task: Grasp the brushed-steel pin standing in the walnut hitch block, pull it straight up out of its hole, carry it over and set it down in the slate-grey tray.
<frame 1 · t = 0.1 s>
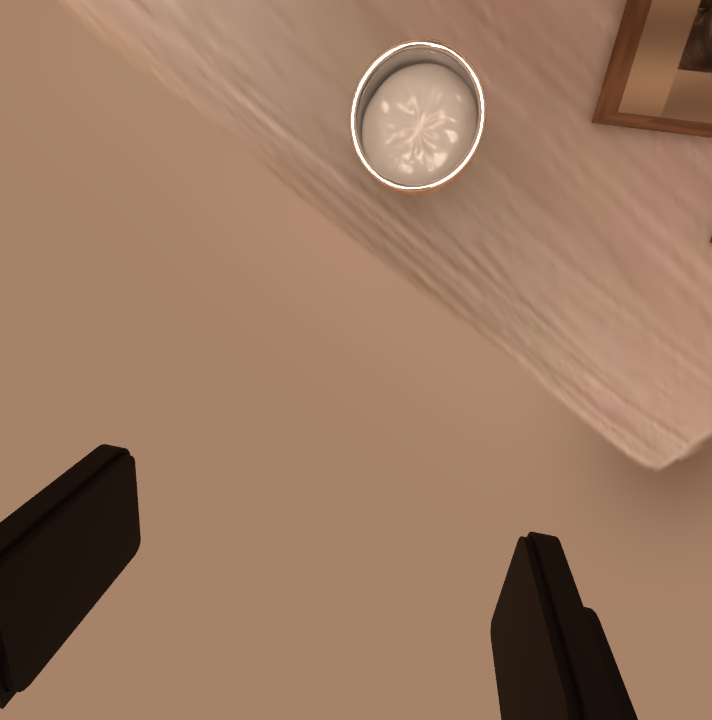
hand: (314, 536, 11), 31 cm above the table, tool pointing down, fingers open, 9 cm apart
hitch block: (691, 50, 31), on the table
beer glass: (422, 146, 36), on the table
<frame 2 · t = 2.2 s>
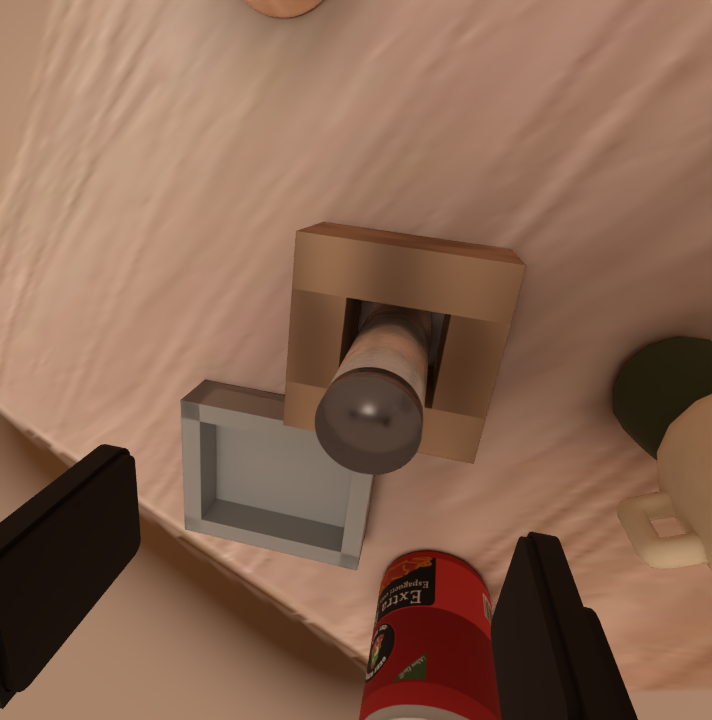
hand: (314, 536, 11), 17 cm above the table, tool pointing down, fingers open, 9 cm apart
hitch block: (399, 324, 26), on the table
canned food: (434, 587, 33), on the table
character mug: (668, 386, 25), on the table
pin: (387, 362, 20), in the hitch block
tray: (287, 461, 31), on the table
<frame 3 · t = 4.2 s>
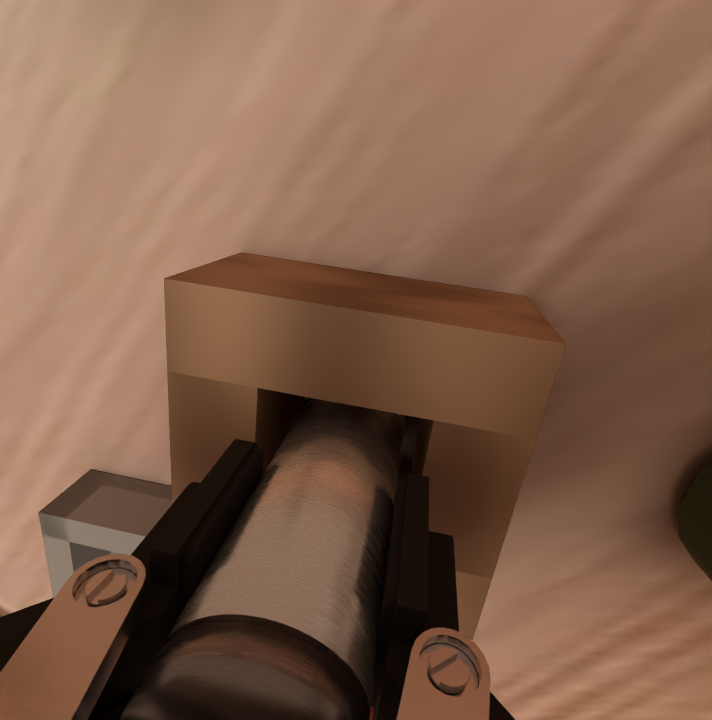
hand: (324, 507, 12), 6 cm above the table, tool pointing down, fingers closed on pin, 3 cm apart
hitch block: (360, 401, 17), on the table
pin: (326, 500, 12), in the hitch block, touching gripper
tray: (212, 577, 22), on the table
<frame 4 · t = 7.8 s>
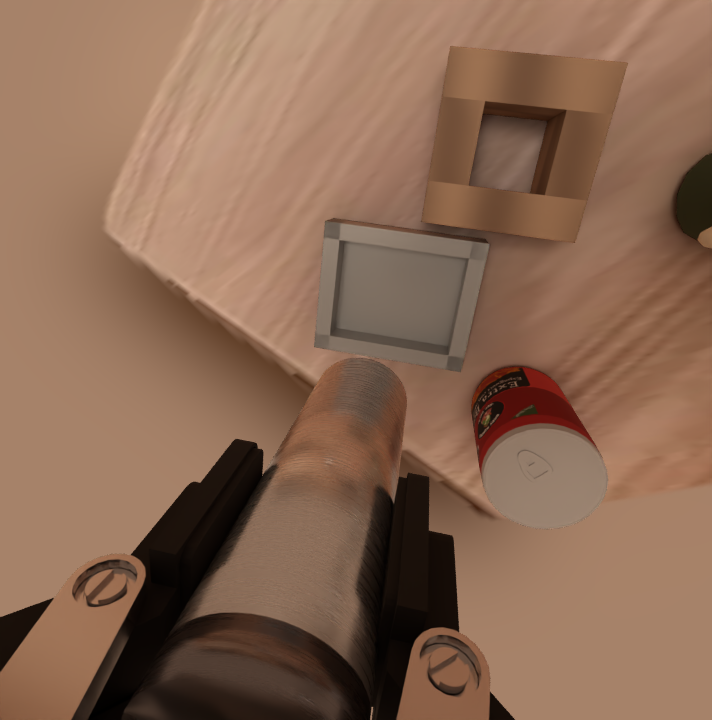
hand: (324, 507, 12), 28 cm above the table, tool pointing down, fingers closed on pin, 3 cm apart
hitch block: (504, 154, 32), on the table
canned food: (515, 404, 39), on the table
pin: (327, 499, 12), point 27 cm above the table, touching gripper
tray: (398, 290, 37), on the table
when the fingers open (8 cm above the table, at t = 11.6 s): pin stays where it is, resting on tray.
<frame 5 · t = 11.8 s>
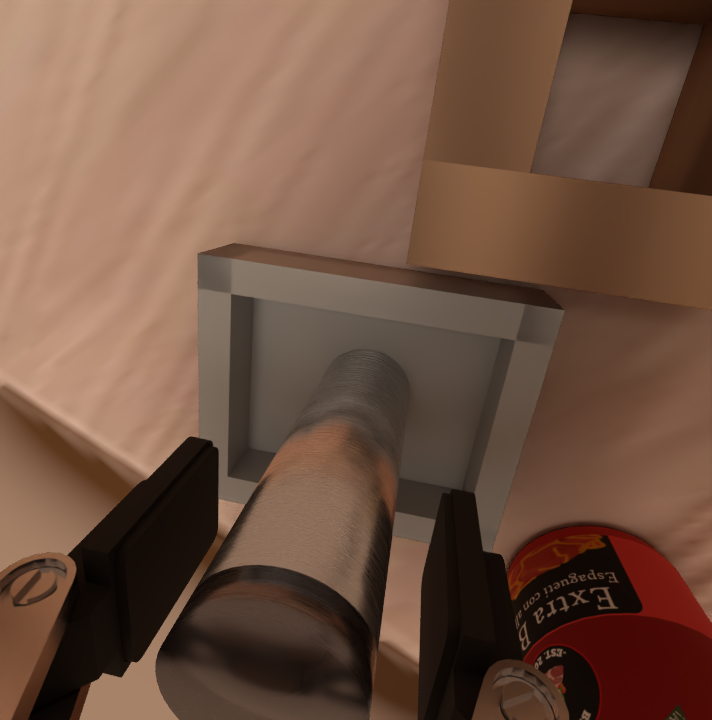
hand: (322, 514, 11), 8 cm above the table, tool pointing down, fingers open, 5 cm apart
hitch block: (594, 107, 14), on the table
canned food: (585, 584, 21), on the table
pin: (335, 478, 13), in the tray, point 7 cm above the table
tray: (366, 383, 19), on the table
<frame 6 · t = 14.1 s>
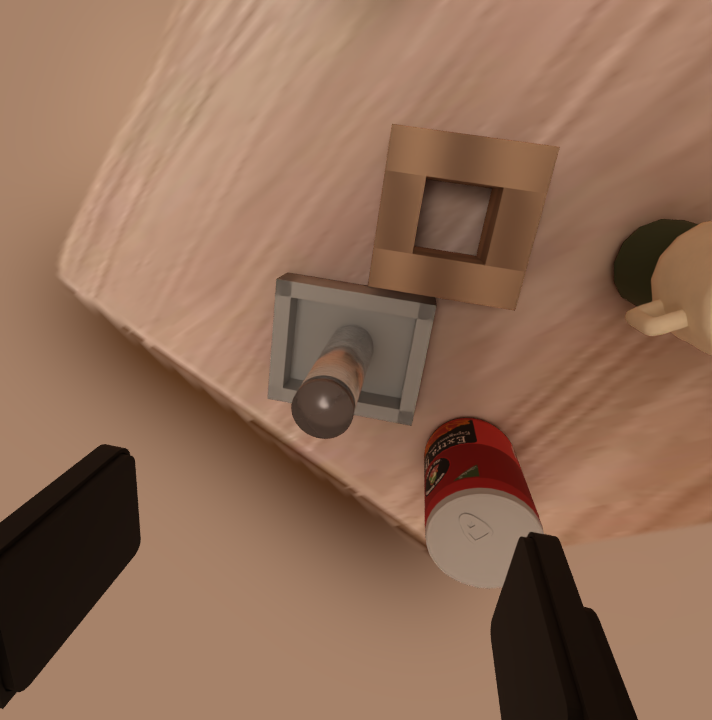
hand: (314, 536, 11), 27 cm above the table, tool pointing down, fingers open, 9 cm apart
hitch block: (451, 218, 33), on the table
canned food: (468, 453, 40), on the table
character mug: (654, 263, 33), on the table
pin: (339, 372, 31), in the tray, point 7 cm above the table
tray: (352, 343, 38), on the table
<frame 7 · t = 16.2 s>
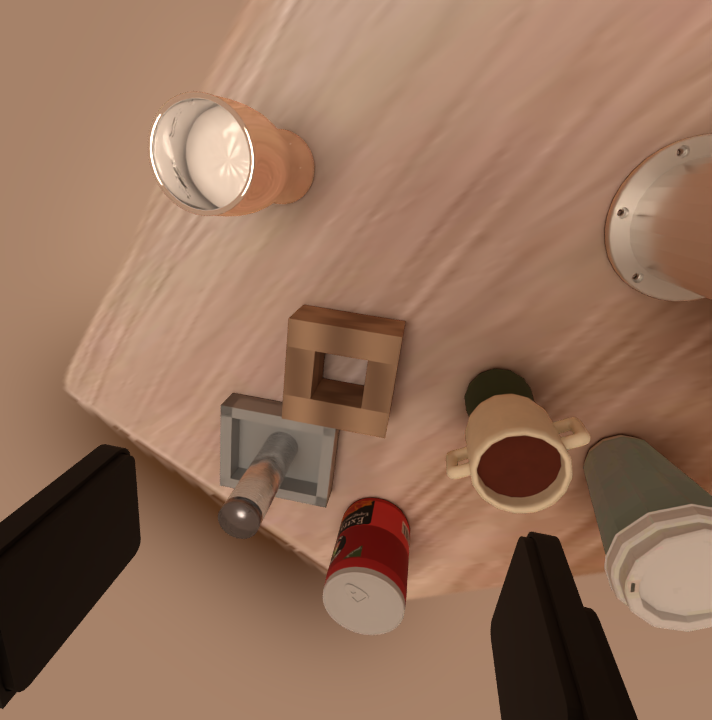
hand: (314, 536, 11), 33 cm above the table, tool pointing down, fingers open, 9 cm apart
hitch block: (347, 360, 45), on the table
canned food: (376, 522, 52), on the table
character mug: (496, 395, 44), on the table
disposable coffee cup: (616, 463, 45), on the table
pin: (262, 479, 44), in the tray, point 7 cm above the table
tray: (283, 442, 50), on the table
beer glass: (282, 167, 40), on the table
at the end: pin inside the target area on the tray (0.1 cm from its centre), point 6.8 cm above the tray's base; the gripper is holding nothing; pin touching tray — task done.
